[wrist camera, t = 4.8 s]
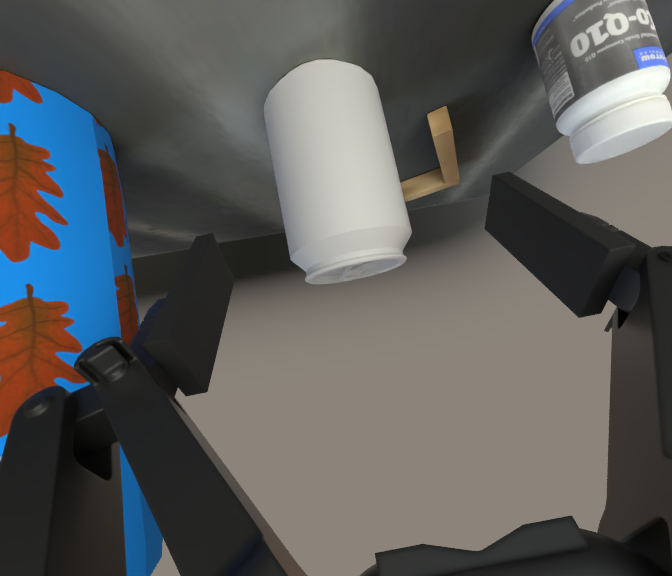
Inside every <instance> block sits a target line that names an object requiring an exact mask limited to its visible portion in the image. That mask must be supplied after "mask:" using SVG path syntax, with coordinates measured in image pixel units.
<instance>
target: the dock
mask: <svg viewBox="0 0 672 576" xmlns="http://www.w3.org/2000/svg"><path fill="white" fill-rule="evenodd" d="M427 118H428V122H429V126H430V130H431V134H432V137H433V141H434V145H435V148H436V152H437V156H438V159H439V163H440V167H441V168H438V169H435V170H433V171H430V172H427V173H424V174H422V175H419V176H416V177H414V178H411V179H408V180H406V181H403V182H400V184H401V189H402V193H403V197H404V201H405V202H407V201H410V200H413V199H416V198H419V197H422V196H424V195H427V194H430V193H433V192H436V191H439V190H442V189H445V188H448V187H450V186H453V185H456V184H459V183H460V180H459V173H458V165H457V158H456V151H455V144H454V137H453V130H452V125H451V122H450V118H449V114H448V110H447V107H446V106H444V107H442V108H439V109H437V110H435V111H433V112H430V113H428V114H427Z"/></svg>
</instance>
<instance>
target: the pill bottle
mask: <svg viewBox="0 0 672 576" xmlns="http://www.w3.org/2000/svg"><path fill="white" fill-rule="evenodd" d="M532 45H533V49H534V52H535V55H536V59H537V62H538V65H539V69H540V72H541V75H542V78H543V82H544V86H545V89H546V92H547V96H548V99H549V103H550V106H551V110H552V113H553V117H554V120H555V124H556V127H557V129H558V130H559V132H561V133H562V134H564V135H567V136H571V137H570V140H569V141H570V146H571V149H572V152H573V155H574V158H575V161H576V162H577V163H578V164H588V163H594V162H599V161H602V160H606V159H609V158H612V157H615V156H618V155H621V154H623V153H626V152H628V151H631V150H633V149H636V148H638V147H640V146H642V145H644V144H646V143H648V142H650V141H652V140H654V139H656V138H657V137H659V136H661V135H662V134H664V133H665V132H667V131H668V130H669V129H670V128H671V127H672V111H671V107H670V102H669V101H668V100H667V97H666V96H665V95H661V94H662V93H663V92H664V90H665V89H666V87H667V86H668V84H669V81H670V76H671V75H670V69H669V66H668V63H667V61H666V58H665V55H664V52H663V49H662V47H661V44H660V41H659V39H658V36H657V33H656V30H655V26H654V23H653V21H652V18H651V16H650V13H649V10H648V6H647V4H646V1H645V0H554V1H553V2H552V3H551V4H550V5H549V6H548V7H547V9H546V10H545V11H544V12H543V14H542V15H541V17H540V18H539V20H538V22H537V23H536V25H535V28H534V30H533V33H532Z"/></svg>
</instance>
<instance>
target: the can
mask: <svg viewBox="0 0 672 576" xmlns="http://www.w3.org/2000/svg"><path fill="white" fill-rule="evenodd" d="M264 120H265V126H266V131H267V136H268V142H269V147H270V152H271V157H272V163H273V168H274V173H275V179H276V184H277V189H278V195H279V200H280V205H281V210H282V216H283V221H284V226H285V232H286V237H287V242H288V248H289V253H290V258H291V260H292V261H293V262H294V263H295V264H297V265H298V266H299V267H301V268H302V269H303V270H305V271H306V273H307V276H306V279H305V281H306V282H308V283H310V284H329V283H337V282H343V281H349V280H354V279H359V278H363V277H368V276H371V275H375V274H379V273H382V272H385V271H388V270H391V269H393V268H396V267H398V266H400V265H402V264H403V263H404V262H405V261H406V259H407V258H406V256H404V255H403V252H402V250H403V249H404V247H405V245H406V243H407V241H408V240H409V238H410V236H411V233H412V230H411V226H410V223H409V218H408V214H407V209H406V205H405V201H404V197H403V193H402V189H401V184H400V180H399V176H398V172H397V168H396V163H395V159H394V155H393V151H392V147H391V142H390V138H389V134H388V130H387V126H386V121H385V117H384V113H383V109H382V105H381V100H380V96H379V92H378V88H377V86H376V84H375V82H374V80H373V78H372V76H371V75H370V74H369V73H367V72H366V71H365V70H363V69H362V68H361V67H360V66H357V65H353V64H350V63H346V62H343V61H338V60H334V59H323V60H315V61H311V62H308V63H304V64H301V65H300V66H298V67H296V68H295V69H293V70H292V71H290V72H288V73H287V74H286V76H285V77H283V78H282V79H280V81H279V82H278V83H277V84H276V85H275V86H274V87H273V89H272V90H271V91H270V92H269V94H268V96H267V99H266V102H265V104H264Z"/></svg>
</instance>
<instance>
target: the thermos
mask: <svg viewBox="0 0 672 576" xmlns="http://www.w3.org/2000/svg"><path fill="white" fill-rule="evenodd" d="M139 326H140V323H139V315H138V307H137V299H136V291H135V283H134V275H133V267H132V259H131V252H130V244H129V236H128V228H127V220H126V212H125V204H124V199H123V194H122V189H121V183H120V178H119V173H118V168H117V163H116V158H115V153H114V149H113V145H112V142H111V138H110V134H109V133H108V132H107V131H106V130H105V129H104V128H103V126H102V125H101V124H100V123H99V122H98V121H97V120H96V119H95V118H94V117H93V116H92V115H91V114H90V113H89V112H87V111H85V110H84V109H82V108H81V107H79V106H78V105H76V104H74V103H73V102H71V101H70V100H68V99H67V98H65V97H63V96H62V95H60V94H59V93H57V92H55V91H52V90H50V89H48V88H45V87H43V86H40V85H38V84H36V83H33V82H31V81H28V80H26V79H23V78H21V77H19V76H16V75H14V74H11V73H9V72H6V71H2V70H0V462H1V458H2V454H3V451H4V447H5V443H6V439H7V436H8V432H9V428H10V424H11V420H12V418H13V416H14V414H15V412H16V411H17V409H18V408H19V407H20V406H21V405H22V404H23V402H25V401H26V400H27V399H29V397H31V396H32V395H34V394H36V393H37V392H39V391H41V390H43V389H45V388H48V387H51V386H58V385H59V386H61V387H63V388H65V389H66V390H67V391H69V392H70V393H71V392H74V391H76V390H78V389H81V388H83V387H85V386H87V385H90V383H89V382H88V381H86V380H85V379H84V378H83V377H82V376H81V375H80V374H78V373H77V372H76V371H75V370H74V363H75V361H76V360H77V358H78V356H79V355H80V354H81V353H82V352H83V351H84V350H85V349H87V348H88V347H90V346H91V345H92V344H94V343H96V342H98V341H100V340H102V339H105V338H108V337H120V338H121V339H123V340H124V341H125V343H126V344H127V345H128V346H129V345H130V343H131V341H132V339H133V337H134V336H135V334H136V332H137V330H138V329H139ZM120 461H121V479H122V497H123V515H124V534H125V552H126V570H127V576H150V575H151V574H152V572H153V570H154V569H155V567H156V565H157V563H158V562H159V560H160V558H161V556H162V540H163V536H162V534H161V532H160V530H159V528H158V525H157V523H156V521H155V519H154V517H153V515H152V512H151V510H150V508H149V506H148V504H147V502H146V499H145V497H144V495H143V493H142V491H141V489H140V486H139V484H138V482H137V480H136V478H135V476H134V473H133V471H132V469H131V467H130V465H129V463H128V460H127V458H126V456H125V454H124V452H123V450H122V447H121V445H120Z"/></svg>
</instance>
